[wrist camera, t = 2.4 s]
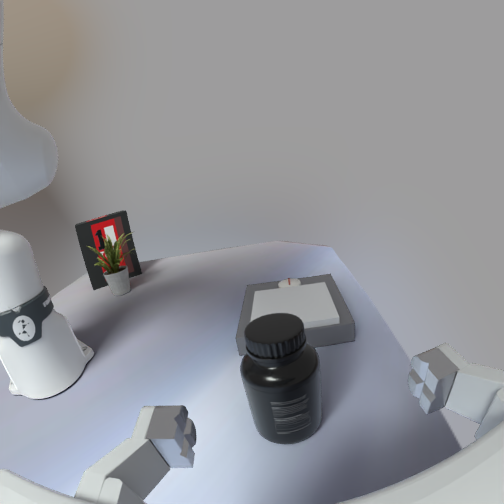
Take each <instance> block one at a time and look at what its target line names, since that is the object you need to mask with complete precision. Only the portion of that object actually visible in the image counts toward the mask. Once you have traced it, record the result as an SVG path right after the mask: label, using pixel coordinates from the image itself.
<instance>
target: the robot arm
mask: <svg viewBox="0 0 504 504" xmlns="http://www.w3.org/2000/svg"><path fill="white" fill-rule="evenodd" d="M3 20H4V18H3V0H0V208H2V207H5V206H7V205H9V204H12V203H15V202H18V201H21V200H23V199H26V198H28V197H30V196H31V195H33V194H35V193H37V192H38V191H40V190H42V189H43V188H45V187H47V186H48V185H50V183H51V181H52V180H53V178H54V175H55V173H56V169H57V164H58V150H57V146H56V143H55V141H54V138H53V137H52V135H51V134H50V133H49V131H47V130H46V129H45V128H44V127H42V126H39V125H36V124H34V123H32V122H30V121H29V120H27V119H26V118H24V117H23V116H22V115H21V114H20V113H19V112H18V111H17V110H16V109H15V107H14V106H13V104H12V102H11V101H10V99H9V96H8V94H7V90H6V85H5V78H4V70H3ZM53 307H54V306H53V303H52V301H51V297H50V294H49V293H48V291H47V288H46V287H45V286H43V284H42V281H41V278H40V275H39V271H38V268H37V265H36V262H35V258H34V255H33V251H32V248H31V245H30V244H29V242H28V241H27V239H26V238H25V237H23V236H22V235H20V234H18V233H14V232H11V231H6V230H0V359H1V361H2V363H3V365H4V367H5V369H6V371H7V373H8V375H9V377H10V378H11V381H10V385H9V390H10V392H11V393H12V394H13V395H24V396H26V397H28V398H31V399H43V398H47V397H51V396H53V395H56V394H58V393H60V392H62V391H63V390H65V389H66V388H68V387H69V386H70V385H72V384H73V383H74V382H75V381H76V380H77V379H78V378H79V376H80V375H81V373H82V372H83V370H84V367H85V365H86V363H87V362H88V361H89V360H90V359H91V358H92V357H93V355H94V352H93V350H92V348H90V347H89V346H87V345H86V344H84V343H83V342H81V341H80V340H79V339H77V338H76V337H75V334H74V332H73V330H72V328H71V326H70V324H69V322H68V319H67V318H66V317H65V316H63V315H62V314H59V313H57V312H56V311H55V310H54V309H53ZM411 366H412V367H413V369H412V370H411V372H410V373H409V376H408V385H409V389H410V391H411V393H412V394H413V396H415V397H417V398H420V400H419V405H420V406H421V407H422V409H423V410H424V412H425V413H426V414H427V415H428V414H430V413H432V412H434V411H436V410H439V409H441V408H443V407H445V408H447V409H449V410H451V411H453V412H455V413H457V414H460V415H461V416H464V417H466V418H468V419H470V420H472V421H474V422H476V423H479V424H480V426H479V428H478V430H477V431H476V433H475V438H476V441H475V442H473V443H471V444H470V445H468V446H467V447H465V448H463V449H462V450H460V451H459V452H457V453H455V454H454V455H452V456H450V457H448V458H447V459H445V460H443V461H441V462H439V463H438V464H436V465H434V466H432V467H430V468H428V469H426V470H424V471H422V472H420V473H418V474H416V475H413V476H411V477H409V478H407V479H404V480H402V481H400V482H397V483H395V484H393V485H390V486H388V487H385V488H382V489H380V490H377V491H374V492H371V493H368V494H365V495H362V496H359V497H356V498H353V499H350V500H346V501H343V502H339V503H335V504H504V370H499V369H495V368H491V367H487V366H483V365H479V364H475V363H472V364H469V363H468V362H467V361H466V360H465V359H464V358H463V357H462V356H461V355H460V354H459V353H458V352H457V351H456V350H454V349H453V348H452V347H451V346H450V345H449V344H447V343H444V344H442V345H440V346H438V347H435V348H433V349H430V350H428V351H426V352H423V353H421V354H418V355H416V356H414V357H413V358H412V360H411ZM187 417H188V411H187V409H186V407H185V406H144V407H142V409H141V411H140V414H139V417H138V419H137V422H136V425H135V428H134V431H133V434H132V437H131V438H127V439H126V440H124V441H123V442H122V443H121V444H119V445H118V446H117V447H116V448H114V449H113V450H112V451H110V452H109V453H108V454H107V455H105V456H104V457H103V458H101V459H100V460H99V461H97V462H96V463H95V464H93V465H92V466H91V467H89V468H88V469H87V470H85V471H84V473H83V476H82V478H81V481H80V483H79V486H78V489H77V491H76V494H75V496H74V497H72V496H69V495H66V494H63V493H60V492H57V491H55V490H52V489H49V488H47V487H44V486H42V485H40V484H37V483H35V482H33V481H30V480H28V479H26V478H24V477H22V476H20V475H18V474H16V473H14V472H12V471H10V470H7V469H0V504H147V503H145V502H144V501H143V500H144V499H145V498H146V497H147V496H148V494H149V493H150V492H151V491H152V490H153V489H154V488H155V487H156V485H157V484H158V483H159V482H160V481H161V480H162V478H163V477H164V476H165V475H166V474H167V472H168V471H169V470H170V468H193V463H194V455H195V453H194V451H193V450H192V447H193V446H194V445H195V444H196V429H195V426H194V423H193V421H192V420H191V419H189V418H187Z"/></svg>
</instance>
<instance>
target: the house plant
mask: <svg viewBox="0 0 504 504" xmlns="http://www.w3.org/2000/svg"><path fill="white" fill-rule="evenodd" d="M129 234H131V233H129ZM129 234H127V235H129ZM106 235H107V233H106ZM127 235H126V236H127ZM122 236H123V234H122V235H121V236H120V237H119V239H118V240H117V241H116V242H115V243H114V246H113V245H112V241H111V239H110V237H109V236H108V235H107V238H108V241H107V239H104V238H103V237H102V238H103V239H104V244H105V248H104V252H105V255H106V257H107V259H108V260H107V259H106V258H105V257H104V256H103V255H102V254H101V253H100V252H99V251H98V250H97V249H95V248H93V247H90V246H87V247H90V248H91V249H93V250H94V252H96V253H97V254H98V255H99V256H100V257H101V258H102V259H103V260H104V261H105V262H106V263H107V264H108V265H109V266H110V267H111V268H110V267H109V266H108V265H107V264H106V263H105V262H103V261H102V260H101V259H100V258H98V257H97V259H98V260H99V262H97V263H96V264H94V265H98V266H101V267H103V268H104V269H106V272H104V274H103V275H104V277H105V279H106V281H107V283H108V285H109V287H110V289H111V291H112V293H113V295H114V296H119V295H123V294H126V293H128V292H129V291H130V290H131V288H130V281H129V274H128V267H127V266H122V265H121V266H119V265H120V261H122V259H123V255H125V254H127V253H128V254H129V252H130V251H129V252H127V253H124V254H123V255H122V254H119V253H121V251H120V250H122V248H121V249H120V250H119V248H120V246H119V245H121V243H122V241H123V240H124V238H125V237H126V236H125V237H124V238H122ZM121 240H122V241H121ZM129 240H130V239H129ZM127 241H128V240H127ZM120 242H121V243H120ZM125 242H126V241H125ZM125 242H124V244H125ZM124 244H123V245H124ZM113 247H114V250H113ZM122 247H123V246H122ZM91 249H90V250H91ZM93 250H92V251H93ZM132 250H133V249H132ZM128 254H127V255H128ZM120 255H122V256H121V257H120ZM127 255H126V257H127ZM126 257H125V258H126ZM119 258H120V259H119ZM124 260H125V259H124ZM123 262H124V261H123ZM101 263H102V264H101ZM122 264H123V263H122ZM94 267H95V266H94ZM108 269H109V270H108Z"/></svg>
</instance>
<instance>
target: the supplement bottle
mask: <svg viewBox="0 0 504 504" xmlns="http://www.w3.org/2000/svg"><path fill="white" fill-rule="evenodd" d="M244 337H245V342H246V350H247V352H246V354H245V355H244V357H243V359H242V362H241V366H240V371H241V377H242V381H243V384H244V388H245V392H246V395H247V399H248V402H249V406H250V409H251V413H252V416H253V420H254V423H255V426H256V429H257V431H258V432H259V434H260V435H261V436H262V437H264V438H265V439H267V440H268V441H271V442H274V443H278V444H293V443H297V442H300V441H303V440H305V439H307V438H308V437H310V436H311V435H312V434H313V433H314V432H315V431H316V430H317V429H318V427H319V425H320V423H321V419H322V400H321V378H320V362H319V356H318V353H317V352H316V350H315V349H314V347H313V346H312V345H311V344H309V343H308V342H307V341H306V335H305V330H304V323H303V322H302V320H301V319H300V317H297V316H296V315H293V314H289V313H272V314H267V315H264V316H261V317H258V318H256V319H254V320H253V321H252V322H250V323H249V324H248V325H247V326H246V328H245V331H244Z"/></svg>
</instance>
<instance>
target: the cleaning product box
mask: <svg viewBox="0 0 504 504" xmlns="http://www.w3.org/2000/svg"><path fill="white" fill-rule="evenodd" d="M75 228H76V232H77V236H78V240H79V243H80V247H81V251H82V254H83V258H84V261H85V265H86V268H87V271H88V274H89V278H90V281H91V284H92V287H93V290H96V289H99V288H101V287H104V286H107V285H108V283H107V281H106V279H105V277H104V275H103V274H104V272H106V269H104V268H103V267H101V266H98V265H94V264H96V263H97V262H99V260H98V259H97V257H98V258H100V259H101V260H102V261H103V262H105V261H104V260H103V259H102V258H101V257H100V256H99V255H98V254H97V253H96V252H94V250H93V249H91V248H90V247H93V248H95V249H97V250H98V251H99V252H100V253H101V254H102V255H103V256H104V257H105V258H106V259H107V257H106V255H105V252H104V248H105V244H104V239H107V241H108V238H107V235H108V236H109V237H110V239H111V241H112V245H113V246H114V243H115V242H116V241H117V240H118V239H119V237H120V236H121V235H122V234H123V236H122V238H124V237H125V236H126V235H127V234H129V233H131V231H130V226H129V221H128V217H127V212H126V211H120V212H116V213H112V214H109V215H105V216H102V217H98V218H95V219H92V220H88V221H85V222H82V223H79V224H76V225H75ZM106 233H107V235H106ZM102 237H103V238H104V239H103V238H102ZM129 239H130V240H129ZM127 240H128V241H127ZM121 241H122V240H121ZM125 241H126V242H125ZM124 242H125V244H124ZM120 243H121V242H120ZM123 244H124V245H123ZM87 246H90V247H87ZM119 246H120V248H119V250H120V249H121V248H122V250H120V251H121V253H119V254H122V255H123V254H124V253H127V252H129V251H130V252H129V254H128V253H127V254H128V255H127V254H125V255H123V259H122V261H120V265H119V266H121V265H122V266H127V267H128V274H129V278H131V277H134V276H137V275H140V274H142V272H141V269H140V265H139V261H138V258H137V254H136V250H135V246H134V242H133V238H132V234H129V235H127V236H126V237H125V238H124V240H123V241H122V243H121V245H119ZM122 246H123V247H122ZM90 249H91V250H90ZM132 249H133V250H132ZM92 250H93V251H92ZM113 250H114V247H113ZM122 255H120V257H121V256H122ZM126 255H127V257H126ZM125 257H126V258H125ZM119 259H120V258H119ZM124 259H125V260H124ZM107 260H108V259H107ZM123 261H124V262H123ZM105 263H106V262H105ZM122 263H123V264H122ZM101 264H102V263H101ZM106 264H107V263H106ZM107 265H108V264H107ZM94 266H95V267H94ZM108 266H109V265H108ZM109 267H110V266H109ZM110 268H111V267H110ZM108 270H109V269H108Z"/></svg>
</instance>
